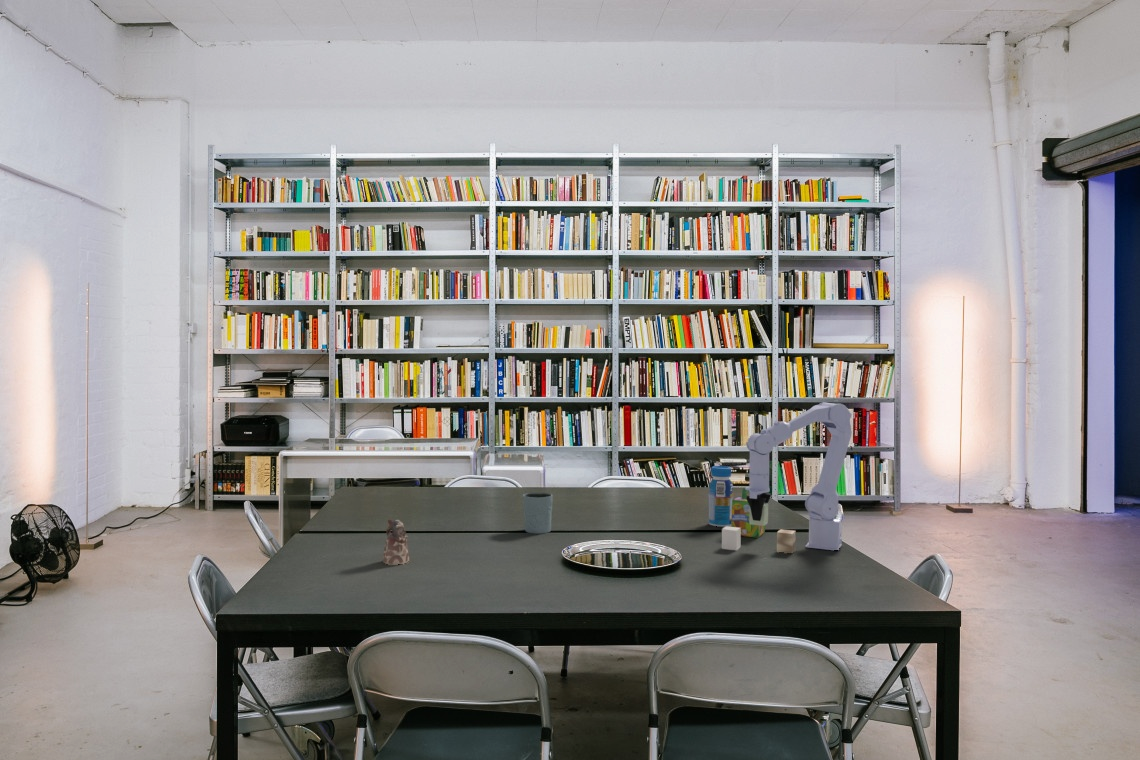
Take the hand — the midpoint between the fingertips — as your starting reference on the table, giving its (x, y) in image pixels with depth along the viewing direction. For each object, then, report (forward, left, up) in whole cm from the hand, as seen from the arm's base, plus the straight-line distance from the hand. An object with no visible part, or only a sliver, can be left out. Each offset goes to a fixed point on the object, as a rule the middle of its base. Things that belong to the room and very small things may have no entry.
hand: (758, 518), depth 230 cm
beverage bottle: (+20, -28, -10) cm, 36 cm away
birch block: (-8, -2, -9) cm, 12 cm away
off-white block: (+8, +2, -9) cm, 12 cm away
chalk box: (+8, -19, -10) cm, 23 cm away
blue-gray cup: (+71, +10, -10) cm, 72 cm away
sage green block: (0, 0, -1) cm, 1 cm away
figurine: (+86, +63, -10) cm, 107 cm away
